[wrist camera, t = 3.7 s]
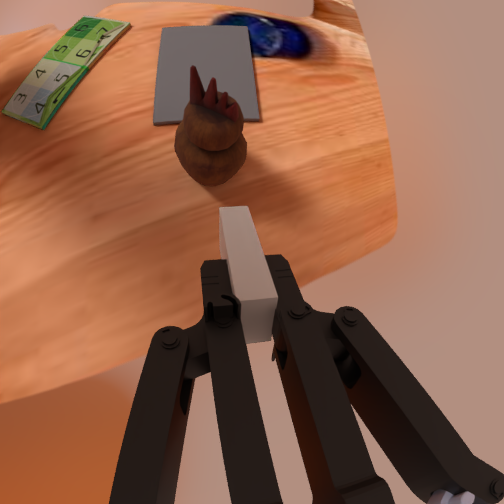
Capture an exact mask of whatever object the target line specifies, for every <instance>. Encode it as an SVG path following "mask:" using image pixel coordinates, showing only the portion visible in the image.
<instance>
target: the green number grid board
mask: <svg viewBox="0 0 504 504" xmlns="http://www.w3.org/2000/svg"><path fill="white" fill-rule="evenodd" d="M129 27H131V24H130V23H129V22H124V21H119V20H113V19H106V18H99V17H92V16H83V17H82V18H81V19H80V20H79V21H78V22H77V23H76V24H75V25H74V26H72V27H71V28H70V29H69V30H68V31H67V32H66V33H65V34H64V35H63V36H62V37H61V38H60V39H59V40H58V42H57V43H56V44H55V45H54V46H53V47H52V48H51V49H50V50H49V51H48V52H47V53H46V55H45V56H44V57H43V58H42V59H41V60H40V61H39V63H38V64H37V65H36V66H35V67H34V68H33V70H32V71H31V72H30V73H29V75H28V76H27V77H26V78H25V80H24V81H23V82H22V84H21V85H20V86H19V87H18V89H17V90H16V92H15V93H14V94H13V96H12V97H11V98H10V100H9V101H8V103H7V104H6V106H5V107H4V109H3V110H2V113H3V114H5V115H7V116H10V117H12V118H15V119H17V120H20V121H22V122H25V123H27V124H29V125H32V126H34V127H37V128H39V129H41V130H44V129H45V128H46V126H47V125H48V123H49V122H50V120H51V119H52V117H53V116H54V114H55V113H56V112H57V110H58V109H59V107H60V106H61V105H62V103H63V102H64V101H65V99H66V98H67V97H68V95H69V94H70V93H71V91H72V90H73V89H74V88H75V86H76V85H77V84H78V83H79V81H80V80H81V79H82V78H83V76H84V75H85V74H86V73H87V72H88V71H89V69H90V68H91V67H92V66H93V65H94V64H95V63H96V61H97V60H98V59H99V58H100V57H101V56H102V55H103V54H104V53H105V52H106V50H107V49H108V48H109V47H110V46H111V45H112V44H113V43H114V42H115V41H116V40H117V39H118V38H119V37H120V36H121V35H122V34H123V33H124V32H125V31H126V30H127V29H128V28H129Z"/></svg>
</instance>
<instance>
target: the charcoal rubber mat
mask: <svg viewBox="0 0 504 504" xmlns="http://www.w3.org/2000/svg"><path fill="white" fill-rule="evenodd" d="M192 65H194V66H195V67H196V69H197V71H198V74H199V77H200V79H201V82H202V85H203V87H204V90H205V92H206V91H207V88H208V85H209V83H210V80H211V78H212V77H214V78H216V83H217V91H218V92H222V93H224V92H227V93H228V95H229V96H231V97H232V98H234V99H235V100H236V101H237V103H238V104H239V106H240V108H241V111H242V114H243V117H244V121H259V111H258V103H257V95H256V87H255V79H254V72H253V64H252V57H251V49H250V42H249V35H248V28H247V26H181V27H167V28H162V34H161V42H160V49H159V58H158V67H157V77H156V88H155V100H154V115H153V124H154V125H161V124H174V123H181V122H182V120H183V115H184V109H185V107H186V106H187V104H188V102H189V100H190V67H191V66H192Z"/></svg>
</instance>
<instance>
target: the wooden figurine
mask: <svg viewBox="0 0 504 504" xmlns="http://www.w3.org/2000/svg"><path fill="white" fill-rule="evenodd" d="M243 121H244V117H243V114H242V111H241V108H240V106H239V104H238V103H237V101H236V100H235V99H234V98H232V97H231V96H229V95H228V93H227V92H224V93H222V92H218V91H217V83H216V78H214V77H212V78H211V80H210V83H209V85H208V88H207V91H206V92H205V90H204V87H203V85H202V82H201V79H200V77H199V74H198V71H197V69H196V67H195V66H194V65H192V66H191V67H190V100H189V102H188V104H187V106H186V107H185V109H184V115H183V120H182V122H181V123H180V125H179V126H178V128H177V130H176V136H175V145H174V147H175V152H176V154H177V156H178V158H179V160H180V163H181V165H182V166H183V168H184V169H185V170H186V171H187V173H188V174H189V175H190V176H191V177H192V178H193V179H194V180H195V181H197V182H199V183H201V184H203V185H208V186H216V185H219V184H222V183H224V182H226V181H227V180H228V179H230V178H231V177H232V176H233V175H234V174H235V173H236V172H237V171H238V170H239V169H240V167H241V166H242V165H243V164H244V162H245V159H246V152H247V142H246V140H245V138H244V136H243V134H242V131H243Z"/></svg>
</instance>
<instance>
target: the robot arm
mask: <svg viewBox="0 0 504 504" xmlns="http://www.w3.org/2000/svg"><path fill="white" fill-rule="evenodd" d="M219 237H220V254H221V259H220V260H206V261H204V263H203V265H202V266H201V268H200V269H201V282H202V294H203V305H204V315H203V317H202V319H201V320H200V321H199V322H198V323H197V324H196V325H194V326H192V327H190V328H187V329H184V330H182V329H181V328H179V327H175V326H167V327H164V328H161V329H159V330H158V331H157V332H156V333H155V334H154V336H153V338H152V341H151V344H150V347H149V350H148V353H147V357H146V360H145V363H144V367H143V370H142V373H141V376H140V380H139V383H138V387H137V391H136V394H135V397H134V401H133V404H132V408H131V412H130V416H129V419H128V423H127V427H126V431H125V435H124V439H123V443H122V446H121V450H120V455H119V459H118V463H117V468H116V472H115V477H114V481H113V486H112V491H111V496H110V501H109V504H174V501H175V494H176V487H177V480H178V474H179V468H180V462H181V456H182V450H183V444H184V438H185V432H186V426H187V420H188V415H189V410H190V403H191V398H192V393H193V387H194V382H195V378H197V377H199V376H202V375H204V374H206V373H209V372H211V378H212V386H213V393H214V401H215V408H216V415H217V422H218V428H219V435H220V441H221V447H222V453H223V459H224V465H225V470H226V476H227V482H228V487H229V492H230V497H231V503H232V504H283V502H282V499H281V495H280V491H279V487H278V483H277V479H276V475H275V471H274V467H273V462H272V458H271V454H270V449H269V445H268V441H267V437H266V433H265V428H264V424H263V420H262V415H261V411H260V406H259V402H258V397H257V393H256V388H255V384H254V379H253V375H252V370H251V365H250V360H249V356H248V351H247V346H246V344H248V343H257V342H265V341H271V336H272V335H273V339H274V348H273V353H272V361H274V360H275V358H276V362H277V366H278V369H279V373H280V377H281V381H282V384H283V388H284V392H285V396H286V399H287V403H288V407H289V410H290V414H291V418H292V422H293V425H294V429H295V433H296V436H297V439H298V444H299V447H300V451H301V455H302V458H303V462H304V465H305V469H306V473H307V477H308V480H309V484H310V487H311V491H312V494H313V502H312V504H395V502H394V500H393V496H392V493H391V490H390V488H389V486H388V484H387V483H386V481H385V480H384V479H383V478H381V477H379V476H378V475H377V474H376V472H375V470H374V467H373V464H372V461H371V459H370V456H369V453H368V450H367V448H366V445H365V442H364V439H363V436H362V433H361V431H360V428H359V425H358V422H357V420H356V417H355V414H354V412H353V409H352V407H351V405H352V406H353V408H354V409H355V410H356V412H357V413H358V415H359V416H360V417H361V419H362V421H363V422H364V424H365V425H366V427H367V428H368V429H369V431H370V432H371V434H372V435H373V437H374V438H375V440H376V441H377V442H378V444H379V445H380V447H381V448H382V450H383V451H384V453H385V454H386V456H387V457H388V459H389V460H390V461H391V463H392V464H393V466H394V467H395V469H396V470H397V472H398V473H399V475H400V476H401V477H402V479H403V480H404V482H405V483H406V485H407V486H408V487H409V488H410V490H411V491H412V492H413V493H414V494H415V495H416V496H417V497H418V498H419V499H421V500H422V501H423V502H425V503H426V504H496V503H498V502H499V501H501V500H502V499H503V497H504V474H503V473H501V472H500V471H498V470H496V469H495V468H493V467H492V466H490V465H488V464H486V463H485V462H484V461H482V460H480V459H479V458H477V457H476V456H474V455H473V454H472V452H471V451H470V450H469V448H468V447H467V445H466V444H465V443H464V442H463V440H462V439H461V437H460V436H459V434H458V433H457V432H456V430H455V429H454V428H453V426H452V425H451V424H450V422H449V421H448V420H447V418H446V417H445V416H444V414H443V413H442V412H441V410H440V409H439V408H438V406H437V405H436V404H435V402H434V401H433V400H432V399H431V397H430V396H429V395H428V393H427V392H426V391H425V390H424V388H423V387H422V386H421V385H420V383H419V382H418V381H417V379H416V378H415V377H414V376H413V374H412V373H411V372H410V371H409V369H408V368H407V367H406V366H405V364H404V363H403V362H402V361H401V359H400V358H399V357H398V356H397V355H396V353H395V352H394V351H393V349H392V348H391V347H390V346H389V345H388V343H387V342H386V341H385V340H384V339H383V337H382V336H381V335H380V334H379V333H378V331H377V330H376V329H375V328H374V327H373V325H372V324H371V323H370V322H369V321H368V319H367V318H366V317H365V316H364V315H363V313H361V312H360V311H359V310H358V309H356V308H354V307H349V306H345V307H340V308H339V309H337V310H336V312H335V314H333V313H325V312H319V311H316V310H314V309H313V308H312V307H311V306H310V305H309V304H308V303H306V302H305V301H304V300H303V297H302V295H301V293H300V290H299V287H298V285H297V282H296V280H295V278H294V275H293V273H292V271H291V268H290V265H289V263H288V261H287V260H286V259H285V258H284V257H283V256H282V255H281V254H278V255H265V256H264V253H263V250H262V247H261V244H260V241H259V238H258V235H257V232H256V229H255V226H254V223H253V220H252V217H251V214H250V211H249V208H248V206H233V207H219ZM350 403H351V404H350Z"/></svg>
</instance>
